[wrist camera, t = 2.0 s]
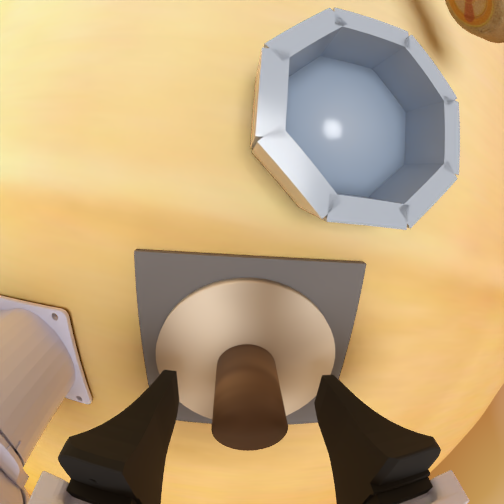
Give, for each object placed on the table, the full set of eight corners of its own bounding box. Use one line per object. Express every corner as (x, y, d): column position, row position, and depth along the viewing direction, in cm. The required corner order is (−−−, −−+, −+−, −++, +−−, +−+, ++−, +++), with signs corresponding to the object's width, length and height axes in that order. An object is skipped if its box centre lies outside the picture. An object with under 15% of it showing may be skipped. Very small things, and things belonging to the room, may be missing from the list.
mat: (156, 413, 17) (155, 417, 16) (136, 249, 14) (134, 251, 13) (322, 417, 18) (324, 421, 17) (363, 261, 15) (366, 263, 14)
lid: (167, 410, 16) (153, 472, 11) (152, 272, 14) (111, 323, 9) (314, 413, 17) (332, 473, 12) (346, 280, 14) (394, 331, 9)
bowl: (246, 204, 14) (249, 215, 10) (259, 37, 11) (266, -5, 7) (407, 220, 14) (451, 235, 10) (412, 72, 12) (452, 53, 8)
